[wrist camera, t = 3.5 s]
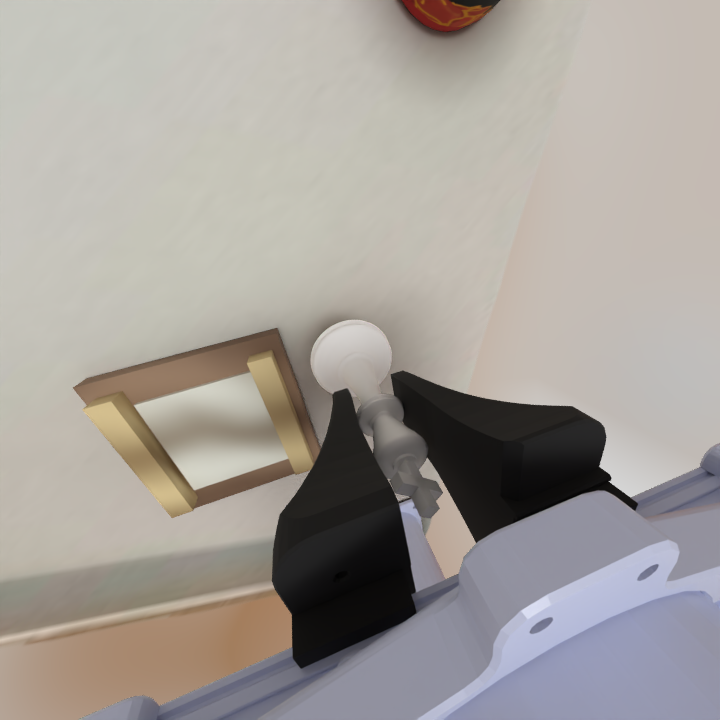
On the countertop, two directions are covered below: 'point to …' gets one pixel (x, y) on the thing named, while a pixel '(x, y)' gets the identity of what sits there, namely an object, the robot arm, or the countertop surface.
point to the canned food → (449, 12)
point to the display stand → (206, 420)
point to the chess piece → (375, 405)
